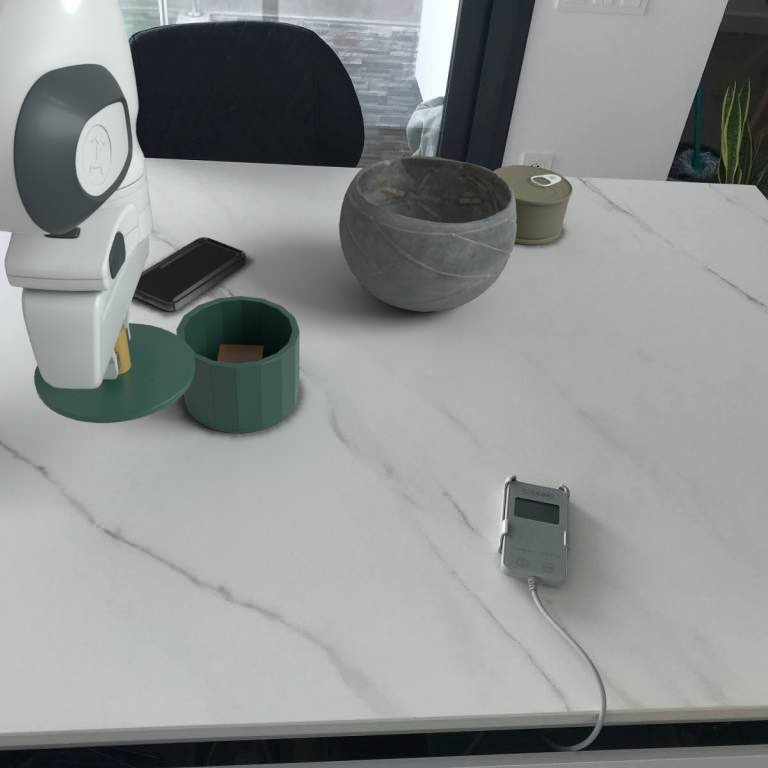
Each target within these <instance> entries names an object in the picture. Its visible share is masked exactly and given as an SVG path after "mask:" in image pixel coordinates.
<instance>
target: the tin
mask: <svg viewBox="0 0 768 768" xmlns="http://www.w3.org/2000/svg"><path fill="white" fill-rule="evenodd" d="M175 330H176V331H175V333H176V335H177V336H178V337H180V338H181V339H182V340H184V341H185V342H186V343H187V345H188V346H189V347H190V349H191V350H192V352H193V355H194V359H195V375H194V378H193V380H192V383H191V384H190V386H189V388H188V389H187V390H186V391H185V393H184V394H183V398H184V405H185V408H186V410H187V411H188V413H189V414H190V415H191V417H192V418H193V419H194V420H195V421H197V422H198V423H200V424H201V425H203V426H204V427H207V428H209V429H211V430H214V431H219V432H223V433H229V434H230V433H231V434H247V433H254V432H260V431H263V430H266V429H269V428H272V427H273V426H275V425H277V424H279V423H280V422H282V421H283V420H285V419H286V418H287V417H288V416H290V414H291V413H292V412H293V410H294V409H295V407H296V405H297V403H298V398H299V393H300V348H301V347H300V346H301V345H300V338H301V337H300V333H301V332H300V327H299V324H298V322H297V319H296V317H295V316H294V315H293V314H292V313H291V312H290V311H289V310H288V309H286V308H285V307H284V306H283V305H281V304H278V303H275V302H273V301H270V300H268V299H266V298H262V297H261V298H260V297H253V296H244V295H239V296H230V297H229V296H226V297H219V298H214V299H213V300H210V301H206V302H203V303H201V304H198V305H196V306H195V307H194V308H192V309H191V310H190V311H188V312H187V313H185V314H184V315H183V316H182V317H181V320H180V322H179V323H178V325H177V327H176V329H175ZM220 344H231V345H259V346H264V359H261V360H258V361H253V362H245V363H236V364H235V363H227V362H219V361H217V358H218V353H219V348H220Z"/></svg>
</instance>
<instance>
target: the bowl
mask: <svg viewBox="0 0 768 768" xmlns="http://www.w3.org/2000/svg"><path fill="white" fill-rule="evenodd" d="M493 171H494V170H492V169H489V168H487V167H484V166H480V165H479V164H474V163H471V162H465V161H461V160H460V161H459V160H455V159H449V158H443V157H440V156H439V157H438V156H427V155H426V156H425V155H410V156H409V155H408V156H400V157H393V158H390V159H384V160H380V161H378V162H375V163H374V162H373V163H371V164H368V165H366V166H364V167H362V168H361V169H360V170H358V171H357V173H356V174H355V175H354V177H353V178H352V179H351V181H350V183H349V185H348V187H347V190H345V191H346V192H345V193H344V197H343V200H342V204H341V209H340V212H339V213H340V214H339V220H338V221H339V222H338V233H339V234H338V235H339V240H340V241H339V242H340V247H341V251H342V255H343V258H344V260H345V262H346V264H347V265H348V268H349V269H350V272H351V273H352V275H353V276H354V277H355V278H356V279H357V281H358V282H359V283H360V284H361V286H362V287H363V289H365V290H366V291H367V292H368V293H370V294H371V295H372V296H373V297H374V298H376V299H377V300H379V301H381V302H383V303H385V304H387V305H390V306H392V307H396V308H399V309H403V310H407V311H412V312H422V313H423V312H424V313H428V312H443V311H444V312H445V311H449V310H454V309H457V308H459V307H463V306H464V305H466V304H468V303H470V302H472V301H473V300H475V299H477V298H479V297H481V295H483V294H484V293H485V292H486V291H488V290H489V289H490V288H491V287H492V286H493V285H494V284H495V283H496V282H497V280H499V278H500V276H501V275H502V273H503V272H504V269H505V268H506V266H507V264H508V262H509V259H510V257H511V253H512V252H513V251H514V247H515V244H516V243H515V239H516V230H517V224H516V221H517V213H516V202H515V197H514V193H513V190H512V188H511V186H510V185H509V184H508V183H507V182H506V181H505V180H504V179H503V178H502V177H500V175H498V174H496V173H495V172H493Z"/></svg>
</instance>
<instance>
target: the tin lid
mask: <svg viewBox="0 0 768 768" xmlns="http://www.w3.org/2000/svg"><path fill="white" fill-rule="evenodd" d="M129 330H130V336H131V339H130V342H129V344H128V341H127V335H126V329H125V325H124V323H123V325H122V328H121V331H120V334H119V336H118V339H117V342H116V345H115V347H114V351H115V352H119V355H120V362H121V367H120V371H119V373H118V376H117V378H116V379H114V380H108V379H103V381H102V383H101V385H100V386H99V387H98V388H95V389H67V388H56V387H53V386H51V385H50V384H48V383H47V382H46V381H45V380H44V379H43V377H42V375H41V373H40V371H39V368H38V365H37V364H36V367H35V370H34V376H33V383H34V386H35V391H36V394H37V395H38V398H39V399H40V401H41V402H42V403H43V404H44V405H45V406H46V407H47V408H49V409H50V410H51V411H53V412H54V413H56V414H57V415H60V416H61V417H65V418H66V419H70V420H74V421H77V422H83V423H90V424H116V423H122V422H123V423H124V422H129V421H133V420H138V419H142V418H145V417H148V416H151V415H153V414H155V413H157V412H160V411H162V410H164V409H165V408H167V407H169V406H170V405H172V404H174V402H176V401H177V400H179V398H181V397H182V396H184V393H185V391H186V390H187V389H188V388H189V386H190V384H191V383H192V380H193V378H194V375H195V359H194V355H193V352H192V350H191V349H190V347H189V346H188V345H187V343H186V342H185V341H184V340H182V339H181V338H180V337H178V336H177V334H175V333H174V332H172V331H170V330H167V329H165V328H162V327H159V326H155V325H152V324H145V323H135V322H129Z"/></svg>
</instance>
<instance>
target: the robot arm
mask: <svg viewBox="0 0 768 768" xmlns="http://www.w3.org/2000/svg"><path fill="white" fill-rule="evenodd" d="M136 80H137V79H136V75H135V68H134V62H133V56H132V51H131V45H130V41H129V36H128V32H127V29H126V22H125V20H124V14H123V12H122V8H121V5H120V1H119V0H0V232H3V233H4V232H5V233H11V235H10V238H9V243H8V246H7V250H6V253H5V256H4V261H3V262H4V263H3V264H4V271H5V275H6V279H7V282H8V283H9V285H10V286H12V287H15V288H22V290H21V291H22V292H21V309H22V316H23V321H24V326H25V328H26V332H27V336H28V339H29V343H30V346H31V350H32V354H33V356H34V359H35V362H36V366H37V365H38V368H39V371H40V373H41V375H42V377H43V379H44V380H45V381H46V382H47V383H48V384H50V385H51V386H53V387H56V388H67V389H95V388H98V387H99V386H100V385H101V383H102V381H103V379H108V380H114V379H116V378H117V376H118V373H119V371H120V367H121V362H120V355H119V352H115V351H114V347H115V345H116V342H117V339H118V336H119V334H120V331H121V328H122V325H123V323H124V325H125V329H126V335H127V341H128V344H129V342H130V339H131V336H130V330H129V323H130V316H131V315H130V314H131V303H132V300H133V298H134V297H133V295H134V292H135V290H136V287H137V284H138V282H139V279H140V276H141V273H142V272H143V271H144V267H145V265H146V262H147V260H148V258H149V253H150V236H149V235H150V234H151V232H152V230H153V226H154V221H153V213H152V204H151V196H150V187H149V179H148V169H147V164H146V163H147V162H146V159H145V155H144V152H143V151H142V148H141V145H140V144H139V140H138V136H137V119H138V115H139V96H138V87H137V81H136Z"/></svg>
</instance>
